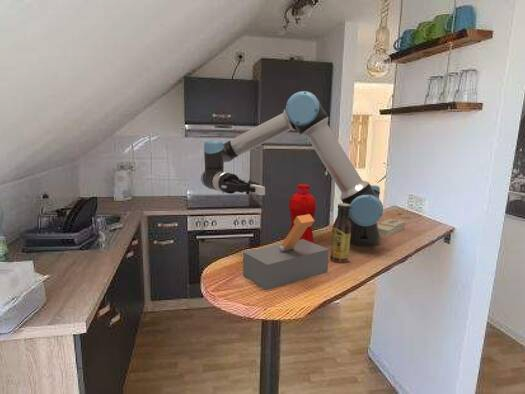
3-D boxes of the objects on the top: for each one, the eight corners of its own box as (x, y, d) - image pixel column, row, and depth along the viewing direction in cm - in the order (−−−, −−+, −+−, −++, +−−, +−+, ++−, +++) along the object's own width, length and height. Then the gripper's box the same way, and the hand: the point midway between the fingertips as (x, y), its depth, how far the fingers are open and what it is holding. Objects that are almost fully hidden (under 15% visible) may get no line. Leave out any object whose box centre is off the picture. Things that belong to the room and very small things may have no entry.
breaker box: (301, 260, 120) (302, 239, 118) (327, 271, 110) (328, 249, 109) (242, 275, 106) (243, 251, 104) (266, 290, 96) (267, 264, 95)
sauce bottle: (326, 257, 122) (329, 202, 119) (341, 255, 125) (345, 201, 121) (336, 264, 116) (340, 206, 113) (352, 262, 119) (356, 205, 115)
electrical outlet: (372, 225, 153) (390, 218, 166) (371, 233, 154) (389, 226, 167) (388, 228, 149) (405, 221, 161) (387, 237, 149) (404, 229, 162)
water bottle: (309, 246, 134) (312, 182, 129) (315, 256, 123) (319, 186, 118) (285, 246, 134) (288, 181, 129) (289, 256, 123) (291, 186, 118)
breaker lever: (289, 244, 109) (309, 214, 101) (294, 251, 108) (314, 220, 99) (277, 247, 106) (296, 216, 98) (281, 254, 105) (301, 223, 96)
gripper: (241, 190, 137) (278, 200, 118) (211, 194, 129) (246, 204, 110) (241, 171, 135) (278, 178, 117) (210, 174, 128) (246, 181, 109)
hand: (263, 191), depth 113 cm, fingers closed
